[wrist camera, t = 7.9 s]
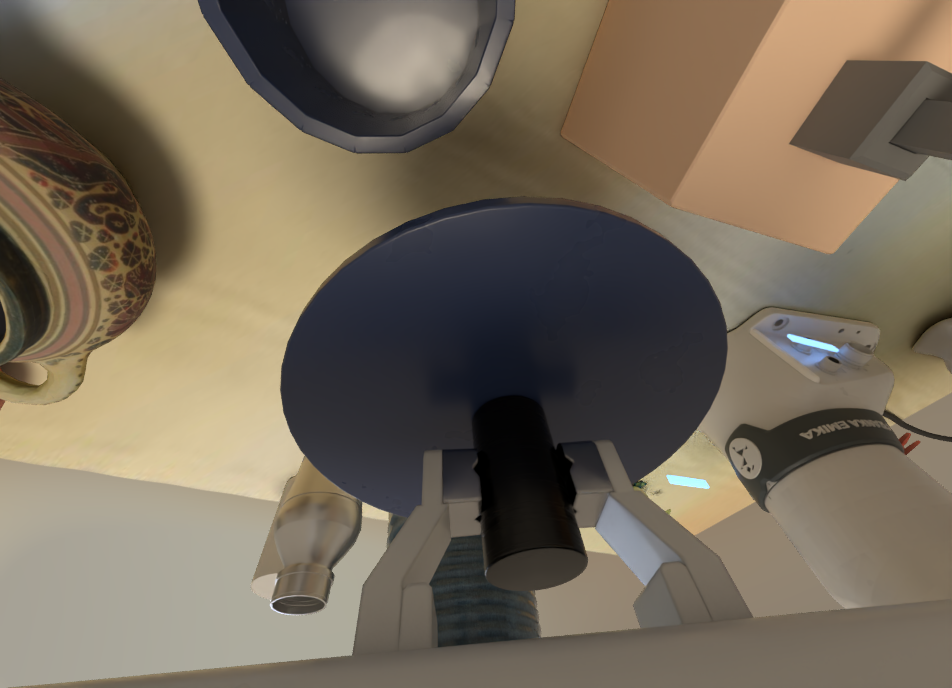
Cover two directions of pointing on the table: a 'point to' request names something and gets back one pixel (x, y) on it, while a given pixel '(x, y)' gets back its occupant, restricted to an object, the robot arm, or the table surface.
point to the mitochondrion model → (0, 401)
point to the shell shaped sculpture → (937, 342)
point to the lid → (504, 364)
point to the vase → (474, 597)
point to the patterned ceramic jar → (63, 250)
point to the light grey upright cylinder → (269, 558)
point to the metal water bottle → (312, 540)
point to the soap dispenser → (768, 106)
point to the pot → (366, 63)
